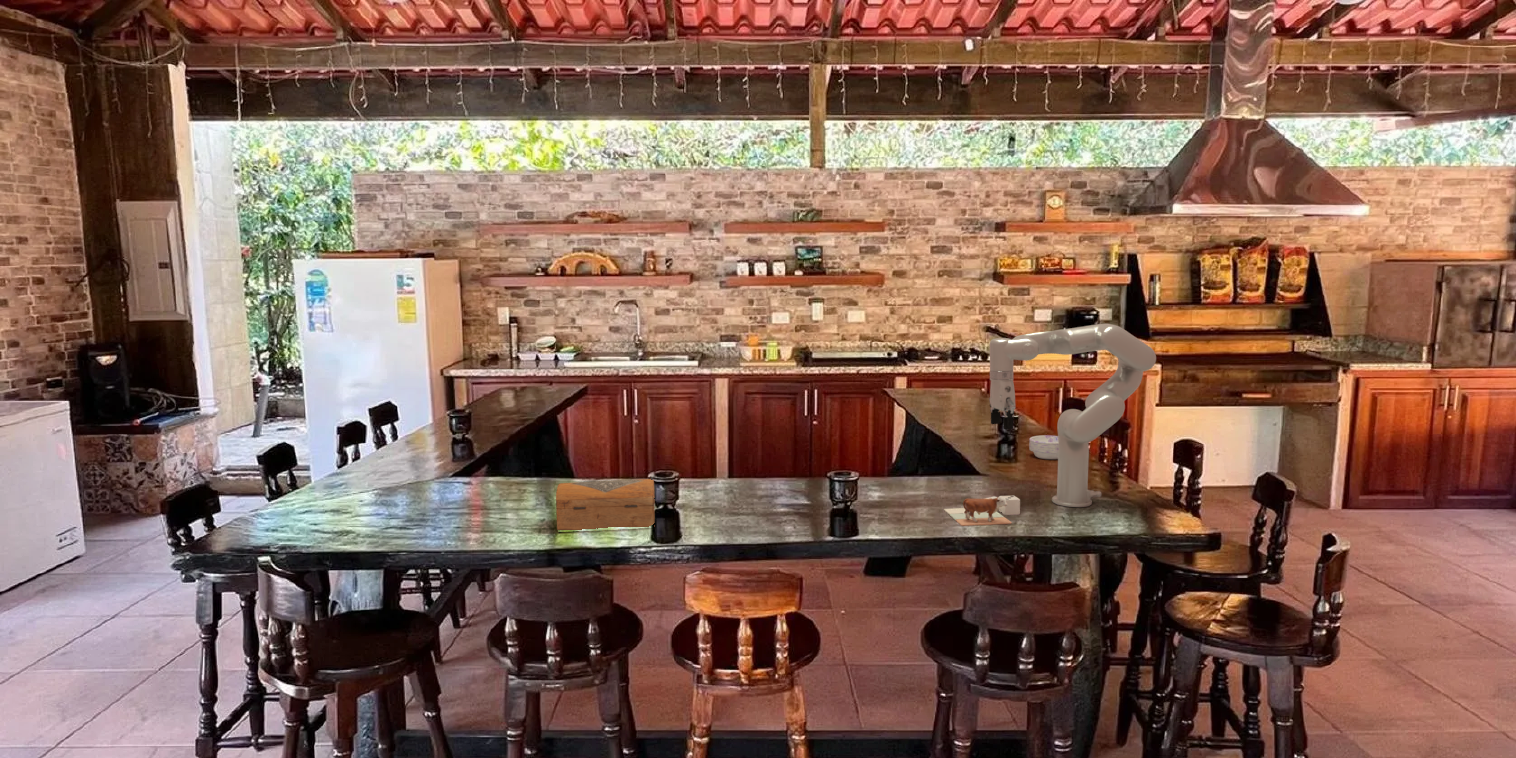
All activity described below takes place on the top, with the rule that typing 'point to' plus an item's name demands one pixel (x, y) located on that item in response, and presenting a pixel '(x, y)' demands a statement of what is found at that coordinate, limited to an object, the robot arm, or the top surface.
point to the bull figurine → (983, 506)
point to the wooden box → (605, 504)
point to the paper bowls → (1044, 446)
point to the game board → (976, 517)
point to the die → (1011, 506)
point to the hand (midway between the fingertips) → (1001, 426)
